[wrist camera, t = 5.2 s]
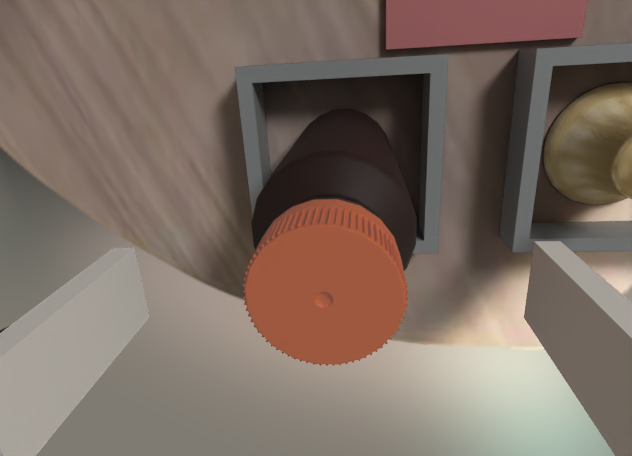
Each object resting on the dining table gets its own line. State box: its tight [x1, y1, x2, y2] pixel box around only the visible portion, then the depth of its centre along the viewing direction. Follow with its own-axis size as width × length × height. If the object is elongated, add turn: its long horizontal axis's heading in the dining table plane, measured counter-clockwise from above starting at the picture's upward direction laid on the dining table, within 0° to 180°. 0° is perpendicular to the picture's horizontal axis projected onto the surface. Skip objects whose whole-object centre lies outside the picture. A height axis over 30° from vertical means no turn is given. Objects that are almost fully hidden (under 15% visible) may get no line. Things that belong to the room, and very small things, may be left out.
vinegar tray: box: [235, 54, 449, 254], centre depth 30 cm, size 13×13×3 cm
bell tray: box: [499, 43, 632, 253], centre depth 28 cm, size 13×13×3 cm
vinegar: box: [243, 109, 417, 365], centre depth 22 cm, size 7×7×20 cm
